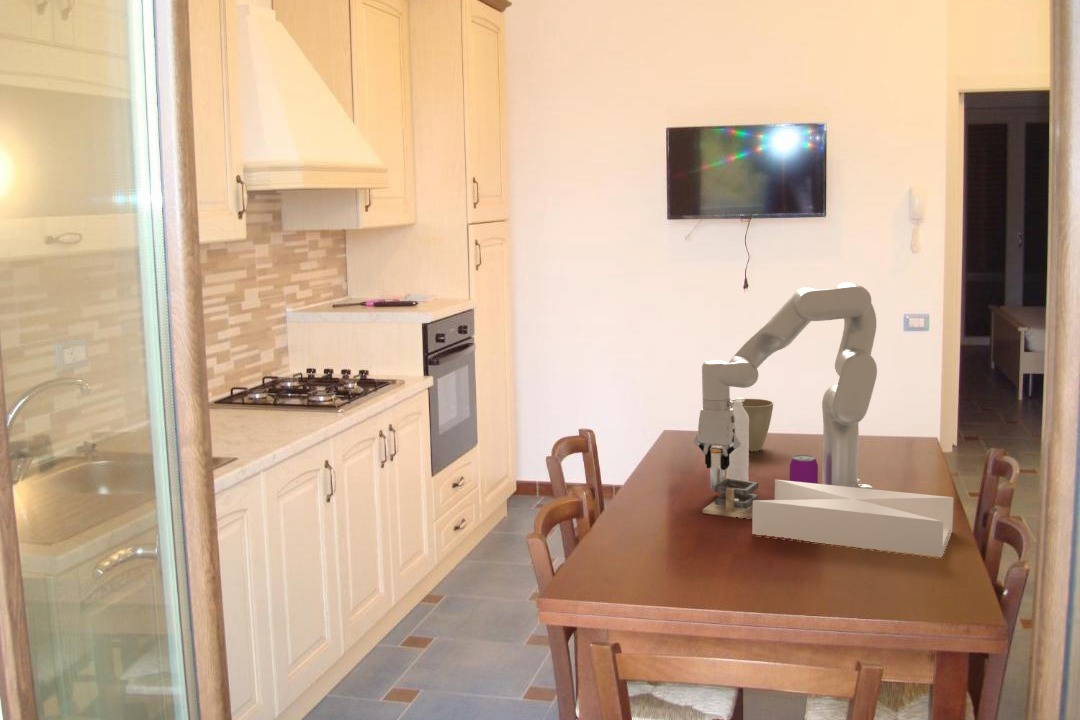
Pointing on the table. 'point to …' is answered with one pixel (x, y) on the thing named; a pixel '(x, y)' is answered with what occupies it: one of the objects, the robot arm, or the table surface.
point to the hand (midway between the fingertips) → (717, 467)
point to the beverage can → (803, 469)
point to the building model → (856, 517)
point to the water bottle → (740, 454)
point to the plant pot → (757, 421)
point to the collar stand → (734, 499)
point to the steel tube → (716, 466)
